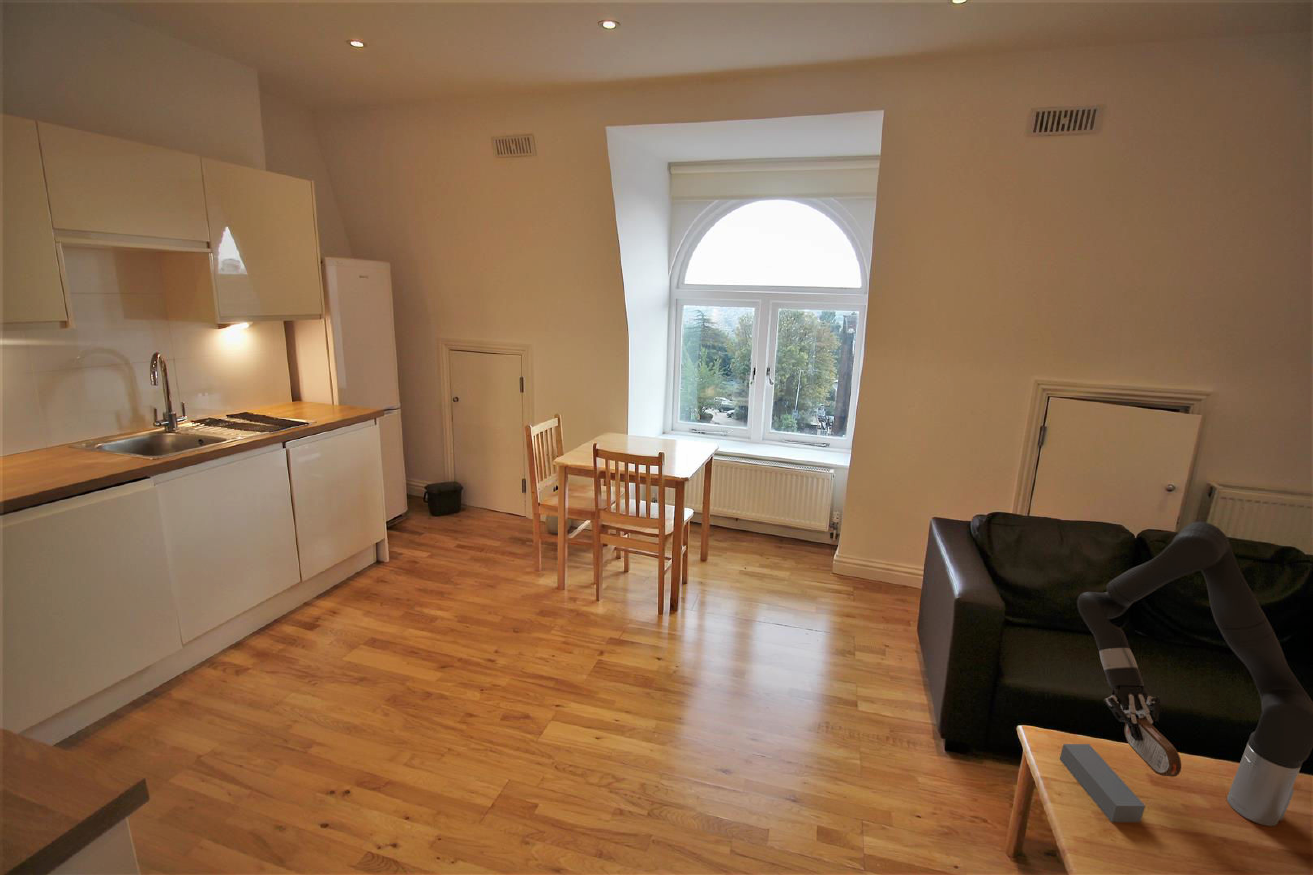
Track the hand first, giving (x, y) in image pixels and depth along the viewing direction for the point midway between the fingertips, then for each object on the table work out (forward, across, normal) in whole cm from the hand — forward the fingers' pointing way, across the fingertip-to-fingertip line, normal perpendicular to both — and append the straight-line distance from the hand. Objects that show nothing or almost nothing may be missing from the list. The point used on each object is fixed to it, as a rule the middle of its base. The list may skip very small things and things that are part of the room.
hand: (1145, 740), depth 153 cm
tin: (+4, 0, +2) cm, 5 cm away
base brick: (+11, -11, +8) cm, 17 cm away
